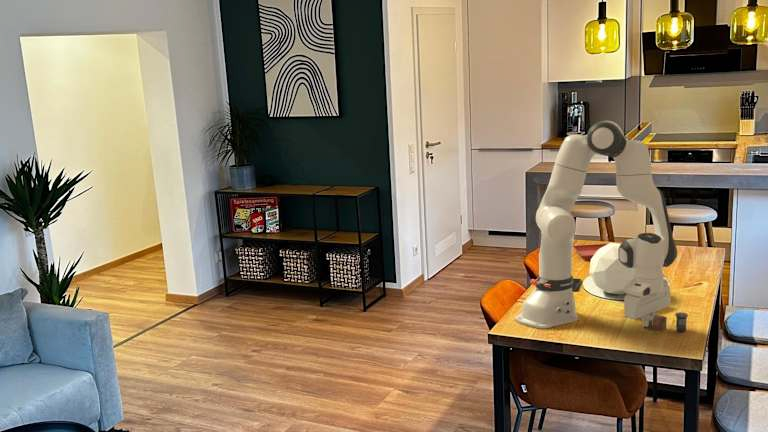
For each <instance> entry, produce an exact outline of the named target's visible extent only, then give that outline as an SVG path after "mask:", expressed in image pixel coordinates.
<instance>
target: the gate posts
mask: <svg viewBox="0 0 768 432" xmlns="http://www.w3.org/2000/svg"><path fill="white" fill-rule="evenodd" d="M624 317H625V318H627V317H626V316H625V315H624ZM675 317H676V322H675V323H676V324H675V332H678V333H686V332H687V321H688V320H687V318H688V313H686V312H681V311H680V312H679V311H678V312H675Z"/></svg>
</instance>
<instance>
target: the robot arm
mask: <svg viewBox="0 0 768 432" xmlns="http://www.w3.org/2000/svg"><path fill="white" fill-rule="evenodd" d="M595 155H600V156H605V157H609V158H612V159H613V160H614V162H615V164H614V165H615V178H616V179H615V180H616V181H615V183H616V189H617V191H618V194H620V195H621V196H622V197H623V198H624V199H626V200H628V201H630V202H632V203H636V204H638V205H641V206H644V207H645V208H647V209H648V210H649V211H650V214H651V218H652V223H653V228H654V233H652V232H641V233H639V234H637V236H636V237H634V238H629V239H625V240H623V241H622V242H621V243H620V244H621V245H620V246H619V250H618V257H619V261H620V262H621V263H622V264H623V265H624V266H626V267H628V268H634V269H635V273H634V279H632V281H631V282H630V283H629V284H628V285H627V286H625V288H624V292H625V296H624V300H623V301H624V302H623V305H624V306H623V308H624V309H623V311H624V312H623V313H624V317H625V316H626V317H625V318H627V319H630V320H638V319H639V318H641V320H642V326H643V327H644V326H646V327H647V326H650V325H652V324H653V319H654V316H655V314H656V312H658V311H660V310H663V309H665V308H667V307H669V306H671V297H672V296H671V288H670V286H669V282H668V280H667V279H665V278H664V277H665V275H664V271H663V270H664V269H663V268H668V267H670V266H671V265H673V263H674V262H675V261H676V259H677V258H678V248H677V244H676V243H675V242H676V241H675V239H674V236H673V233H672V232H673V231H672V227H671V223H670V218H669V212H668V208H667V204H666V200H665V197H664V194H663V192H662V190H661V189H659V188H658V187H656V184H655V183H654V179H653V174H652V162H651V156H650V152H649V147H648V145H647V144H646V143H645V142H643V141H641V140H637V139H627V138H626V135H625V131H624V129H623V128H622V126H620V125H619V124H618V123H617V122H615V121H612V120H602V121H598V122H596V123H594V124H593V125H592V126H591V127H590V128H589V129H588V131H587V134H585V135H583V134H582V135H581V134H570V135H568V136H566V137H565V138H564V140H563V141H562V143H561V145H560V147H559V149H558V153H557V155H556V158H555V162H554V164H553V168H552V171H551V175H550V179H549V182H548V184H547V187H546V191H545V192H544V194H543V196H542V199H541V202H540V203H539V206H538V208H537V210H536V212H535V213H536V214H535V222H536V225H537V226H538V228H539V230H540V232H541V238H540V239H541V240H540V248H539V253H538V276H537V278H536V279H535V278H531V279H530V282H529V284H531V286H535V288H534V289H533V290H532V291H531V293H529V295H528V296H527V297H526V298H525V300H524V301H523V302H522V306H521V307H522V308H521V312H520V313H519V314H517V315H515V316H514V320H515V321H517V323H519V324H522V325H525V326H528V327H532V328H536V329H542V330H543V329H545V330H546V329H550V328H553V327H559V326H561V325H565V324H569V323H573V322H574V323H575V322H576V321H577V322H578V321H579V317H578V315H577V310H576V309H577V308H576V299H575V295H574V292H573V291H572V287H573V278H574V277H573V275H572V273H573V272H572V271H573V268H572V266H573V264H572V262H573V261H572V257H573V249H574V248H573V246H574V242H575V241H574V240H575V234H576V231H577V226H576V221H575V217H574V216H573V215H572V214H571V213H572V210H573V207H574V205H575V204H576V201H577V200H578V198H579V196H580V195H581V194H582V191H583V190H582V189H583V187H584V183H585V180H586V177H587V173H588V170H589V167H590V166H589V165H590V164H591V161H592V158H594V156H595Z"/></svg>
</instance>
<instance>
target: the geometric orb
mask: <svg viewBox="0 0 768 432" xmlns="http://www.w3.org/2000/svg"><path fill="white" fill-rule="evenodd" d="M607 244H608V245H606V246H604V247H602V248H600V249H599V250H598V251H597V252H596V253H595V255H594V256H593V257H592V259H591V260H590V262H589V263H590V264H589V273H588V274H589V275H590V277H591V279H592V281H593V282H594V285H595V286H596V287H598V288H599V289H600V290H602V291H604V292H605V293H608V294H613V295H619V296H623V295H626V293H625V292H624V288H625V286H627V285H628V284H629V283H630V282H631V281H632V279H634V273H635V269H634V268H628V267H626V266H624V265H623V264H622V263H621V262H620V261H619V257H618V250H619V246H620V245H621V243H614V242H609V243H607Z"/></svg>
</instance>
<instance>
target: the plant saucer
mask: <svg viewBox="0 0 768 432" xmlns="http://www.w3.org/2000/svg"><path fill="white" fill-rule="evenodd" d="M608 244H609V243H598V244H597V243H596V244H580V245H579V244H577V245H573V248H572V249H574V250H575V252H576V253H577V254H578V255H579V256H580V258H582V260H583V261H591V259H592V257H593V256H594V255H595V253H596V252H597V251H598V250H599V249H600V248H602V247H604V246H606V245H608Z"/></svg>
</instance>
